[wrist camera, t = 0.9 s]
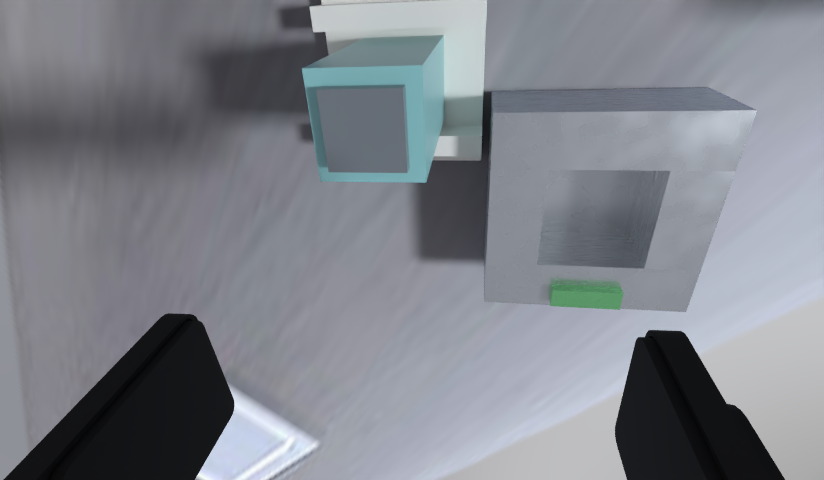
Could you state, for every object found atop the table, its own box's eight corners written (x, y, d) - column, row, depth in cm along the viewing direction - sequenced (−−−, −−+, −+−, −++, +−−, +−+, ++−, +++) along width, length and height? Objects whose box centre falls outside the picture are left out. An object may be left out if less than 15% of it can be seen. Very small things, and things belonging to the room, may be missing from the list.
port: (491, 91, 26) (493, 115, 21) (709, 87, 24) (764, 113, 20) (484, 259, 32) (484, 307, 27) (657, 265, 30) (690, 318, 26)
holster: (324, -17, 24) (306, -17, 22) (487, -26, 23) (487, -26, 21) (346, 154, 29) (333, 171, 27) (480, 155, 28) (480, 172, 26)
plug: (364, 37, 25) (295, 71, 16) (443, 35, 24) (420, 68, 15) (371, 117, 27) (315, 186, 18) (444, 116, 26) (424, 188, 17)
